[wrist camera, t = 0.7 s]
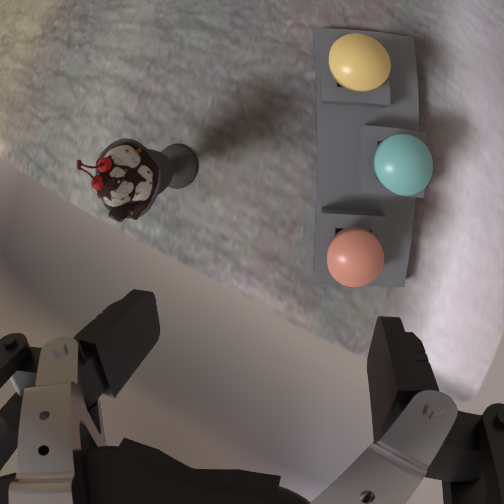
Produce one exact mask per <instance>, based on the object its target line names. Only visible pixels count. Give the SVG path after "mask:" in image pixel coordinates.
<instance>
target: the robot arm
mask: <svg viewBox="0 0 504 504" xmlns="http://www.w3.org/2000/svg"><path fill="white" fill-rule="evenodd" d="M159 335H160V324H159V318H158V312H157V306H156V299H155V295H154V293H153V292H149V291H142V290H136V289H134V290H132V291H131V292H129V293H128V294H127V295H126V296H125V297H124V298H123V299H122V300H119V301H117V302H115V303H113V304H111V305H109V306H108V307H107V308H106V309H105V310H103V311H102V313H101V314H99V315H98V316H97V317H96V318H95V320H92V321H91V322H90V323H89V324H88V325H87V326H86V327H84V328H83V329H82V330H81V331H80V332H79V333H78V334H77V335H76V336H75V337H74V338H71V337H58V338H54V339H52V340H50V341H48V342H47V343H46V344H45V345H44V346H43V347H42V348H36V347H30V346H29V344H28V341H27V339H26V337H25V336H24V335H23V334H21V333H13V334H9V335H6V336H4V337H3V338H1V339H0V388H1V387H2V386H3V385H4V384H5V383H6V382H7V381H8V380H9V379H10V381H11V382H12V384H13V386H14V388H15V390H16V393H15V394H14V395H13V396H12V397H11V398H10V399H9V400H8V402H7V403H6V404H5V405H4V406H3V407H2V408H1V410H0V470H1V469H2V468H3V466H4V464H5V463H6V462H7V461H8V459H9V458H10V457H11V455H12V454H13V453H14V451H15V450H16V448H17V466H16V473H12V474H9V475H5V476H2V477H0V504H406V502H407V501H408V500H409V498H410V497H411V495H412V494H413V493H414V491H415V490H416V488H417V487H418V486H419V484H420V483H421V481H422V480H423V478H424V477H427V478H433V479H438V480H442V488H443V501H444V504H504V404H501V403H497V404H492V405H490V406H489V407H487V408H486V410H485V411H484V413H483V415H476V414H471V413H465V412H461V411H458V410H457V406H456V404H455V402H454V401H453V400H452V399H451V398H450V397H449V396H448V395H446V394H445V393H442V392H440V391H439V388H438V385H437V382H436V380H435V377H434V374H433V371H432V368H431V365H430V363H429V362H428V361H429V360H428V357H427V354H425V349H424V346H423V344H422V341H421V340H420V339H419V338H418V337H417V336H416V335H415V334H414V333H413V332H405V330H404V327H403V324H402V321H401V319H400V318H399V317H384V316H379V317H378V318H377V321H376V325H375V329H374V333H373V337H372V341H371V345H370V349H369V353H368V359H367V374H368V382H369V391H370V401H371V410H372V411H371V412H372V424H373V436H374V442H373V443H372V444H370V446H369V447H367V449H366V450H365V451H364V452H363V453H362V454H361V455H360V456H359V457H358V458H357V459H356V461H354V463H352V464H351V465H350V466H349V467H348V469H346V470H345V472H343V473H342V474H341V475H340V476H339V477H338V478H337V479H336V480H335V481H334V482H333V483H332V484H331V485H330V486H329V487H328V488H327V489H325V490H324V491H323V492H322V493H321V494H320V495H319V496H318V497H316V498H315V499H314V500H313V501H312V502H309V501H308V500H307V499H305V498H304V497H302V496H300V495H299V494H297V493H295V492H293V491H291V490H289V489H286V488H283V487H280V486H279V482H280V476H278V475H270V474H263V473H256V472H250V471H243V470H238V469H237V470H236V469H235V470H234V469H233V470H232V469H230V470H221V469H220V470H218V469H214V470H213V469H194V468H191V467H188V466H187V465H185V464H183V463H181V462H179V461H177V460H175V459H174V458H172V457H170V456H169V455H167V454H165V453H163V452H162V451H160V450H158V449H156V448H153V447H149V446H147V445H143V444H141V443H138V442H135V441H132V440H129V439H127V438H124V439H123V440H122V442H121V443H120V445H119V446H107V442H106V437H105V430H104V423H103V416H102V408H101V402H100V400H99V397H100V396H101V394H104V395H107V396H110V397H113V398H115V397H116V395H117V394H118V393H119V391H120V390H121V389H122V387H123V386H124V384H125V383H126V382H127V381H128V379H129V378H130V377H131V375H132V374H133V373H134V371H135V370H136V369H137V368H138V366H139V365H140V364H141V362H142V361H143V360H144V358H145V357H146V356H147V354H148V353H149V352H150V350H151V349H152V348H153V346H154V345H155V344H156V343H157V341H158V339H159Z"/></svg>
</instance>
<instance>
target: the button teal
mask: <svg viewBox="0 0 504 504" xmlns="http://www.w3.org/2000/svg"><path fill="white" fill-rule="evenodd" d="M373 168H374V172H375V174H376V177H377V178H378V180H379V181H380V182H381V183H382V184H383V185H384V186H385V187H386V188H388V189H389V190H390V191H392V192H394V193H396V194H399V195H413V194H416V193H418V192H420V191H421V190H423V189H424V188H425V187H426V186H427V184H428V183H429V181H430V179H431V177H432V173H433V160H432V156H431V153H430V151H429V149H428V148H427V146H426V145H425V144H424V143H423V142H422V141H421V140H420V139H418V138H416V137H414V136H412V135H407V134H397V135H391V136H389V137H387V138H385V139H383V140H382V141H381V142H380V143H379V144H378V146H377V148H376V149H375V152H374V156H373Z"/></svg>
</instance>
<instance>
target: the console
mask: <svg viewBox="0 0 504 504" xmlns="http://www.w3.org/2000/svg"><path fill="white" fill-rule="evenodd" d="M313 30H314V47H315V67H316V95H317V203H316V233H315V255H314V273H313V283H329V284H341V283H339V282H338V281H336V280H335V279H334V278H333V276H332V275H331V273H330V271H329V269H328V265H327V249H328V245H329V243H330V241H331V239H332V238H333V237H334V236H335V235H336V234H337V233H338V232H339V231H341V230H343V229H345V228H349V227H361V228H364V229H367V230H368V231H370V232H371V233H373V234H374V235H375V237H376V238H377V240H378V241H379V243H380V245H381V247H382V249H383V253H384V264H383V268H382V270H381V272H380V274H379V275H378V276H377V277H376V278H375V279H374V280H373V281H372V282H370V283H369V284H366V285H368V286H391V287H404V284H405V279H406V273H407V267H408V261H409V255H410V248H411V240H412V233H413V224H414V215H415V205H416V197H417V198H424V195H425V188H424V189H423V190H421V191H420V192H418V193H416V194H413V195H399V194H396V193H394V192H392V191H390V190H389V189H388V188H386V187H385V186H384V185H383V184H382V183H381V182H380V181H379V180H378V178H377V177H376V174H375V172H374V168H373V156H374V152H375V149H376V148H377V146H378V144H379V143H380V142H381V141H382V140H383V139H385V138H387V137H389V136H391V135H397V134H407V135H412V136H414V137H416V138H418V139H420V140H421V141H422V142H423V143H424V144H425V145H426V146H427V132H423V131H419V95H418V77H417V63H416V52H415V43H414V37H409V36H403V35H397V34H389V33H382V32H373V31H362V30H349V29H330V28H313ZM353 33H358V34H364V35H367V36H370V37H372V38H374V39H375V40H377V41H378V42H379V43H381V45H382V46H383V47H384V48H385V49H386V51H387V53H388V55H389V58H390V63H391V69H390V73H389V76H388V78H387V79H386V80H385V82H384V83H383V84H381V85H380V86H379V87H378V88H377V89H375V90H373V91H370V92H365V93H358V92H353V91H350V90H347V89H345V88H344V87H342V86H341V85H340V84H338V83H337V81H336V80H335V79H334V78H333V76H332V74H331V72H330V69H329V53H330V50H331V47H332V45H333V44H334V42H335V41H336V40H338V39H339V38H340V37H342V36H344V35H347V34H353Z"/></svg>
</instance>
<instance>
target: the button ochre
mask: <svg viewBox="0 0 504 504" xmlns="http://www.w3.org/2000/svg"><path fill="white" fill-rule="evenodd" d="M329 69H330V72H331V74H332V76H333V78H334V79H335V80H336V81H337V83H338V84H340V85H341V86H342V87H344V88H345V89H347V90H350V91H353V92H358V93H365V92H370V91H373V90H375V89H377V88H378V87H379V86H380V85H381V84H383V83H384V82H385V80H386V79H387V78H388V76H389V73H390V69H391V63H390V58H389V55H388V53H387V51H386V49H385V48H384V47H383V46H382V45H381V43H379V42H378V41H377V40H375V39H374V38H372V37H370V36H367V35H364V34H358V33H353V34H347V35H344V36H342V37H340V38H339V39H338V40H336V41H335V42H334V44H333V45H332V47H331V50H330V53H329Z"/></svg>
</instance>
